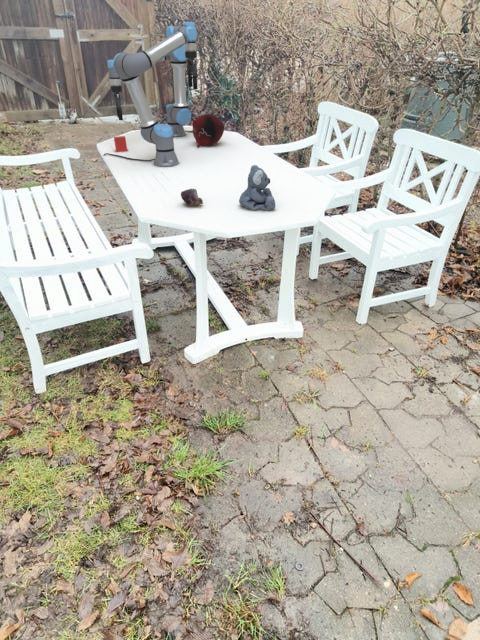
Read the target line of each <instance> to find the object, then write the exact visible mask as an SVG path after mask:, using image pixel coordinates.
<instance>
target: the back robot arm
mask: <svg viewBox="0 0 480 640" xmlns="http://www.w3.org/2000/svg"><path fill="white" fill-rule="evenodd" d="M185 51H186V50H185V47H184V45H183V46H181V47H180V48H178V49H177V50H175V51H173V52H172V53H170V54H169V55H167V56H166V57H164V58H162V59H161V60H159V61H158V62H160V61H162V62H164V61H168V60H169V63H170V65H171V66H172V76H173V77H172V78H173V91H174V92H173V93H174V103H168V104H166V106H165V107H166V108H165V110H166V111H165V112H166V119H167V125H170V126H171V127H172V131H173V138H178V137H184V136H186V133H193V130H185V128H184V126H183V125H187V124H189V123H190V122H191V121H192V119H191V117H192V113H191V110H190V108H189V104H188V103H187V88H186V87H187V86H186V68H185V66H187V59H188V58H185ZM107 71H108V77H109V85H110V92H112V93H114V94H113V97H114V101H115V108H116V115H117V118H118V121H123V120H124V118H123V111H122V110H123V108H122V103H121V99H122V98H121V94H120V93H122V92H123V87H122V80H121V78H120V75H119V74H117V73H116V72H115V70H114V68H113V59H108V60H107Z"/></svg>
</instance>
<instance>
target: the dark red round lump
mask: <svg viewBox="0 0 480 640" xmlns="http://www.w3.org/2000/svg"><path fill="white" fill-rule="evenodd" d="M191 121H192V131H193V132H192V135H193V138H194V140H195V142H196V144H197V149H199V148H200V146H214V145H215V144H217V143H219V141H220V140H221V139H222V137H223V134H224V133H225V125H224V123H223V122H222V120H221V119H219V118H218V117H217V115H214V114H208V113H206V114H202V115H200V116H199V117H197V118H196V119H195V118H193V117H192V116H191Z"/></svg>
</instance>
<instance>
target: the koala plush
mask: <svg viewBox="0 0 480 640" xmlns="http://www.w3.org/2000/svg"><path fill="white" fill-rule="evenodd" d="M270 183H271V178H269V176H268V175H267V173H266V172H265V170H264V169H263V168H261V167H259V165H257V164H253V165H250V170H249V173H248V176H247V188H246V189H245V190H244V191H243V192H242V193H241V194H240V197H239V199H238V203H239V204H240V206H241V207H242V208H246V209H247V210H252V211H255V210H261V211H272V210H274V209H275V208H276V200H275V198H274V196H273V194H272V191H271V188H270V187H268V186H269V185H270Z"/></svg>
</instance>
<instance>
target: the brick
mask: <svg viewBox="0 0 480 640" xmlns="http://www.w3.org/2000/svg"><path fill="white" fill-rule="evenodd" d="M113 141H114V146H115V152H116V153H120V152H121V153H123V152H128V145H127V139H126V136H125V135H121V136H113Z"/></svg>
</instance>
